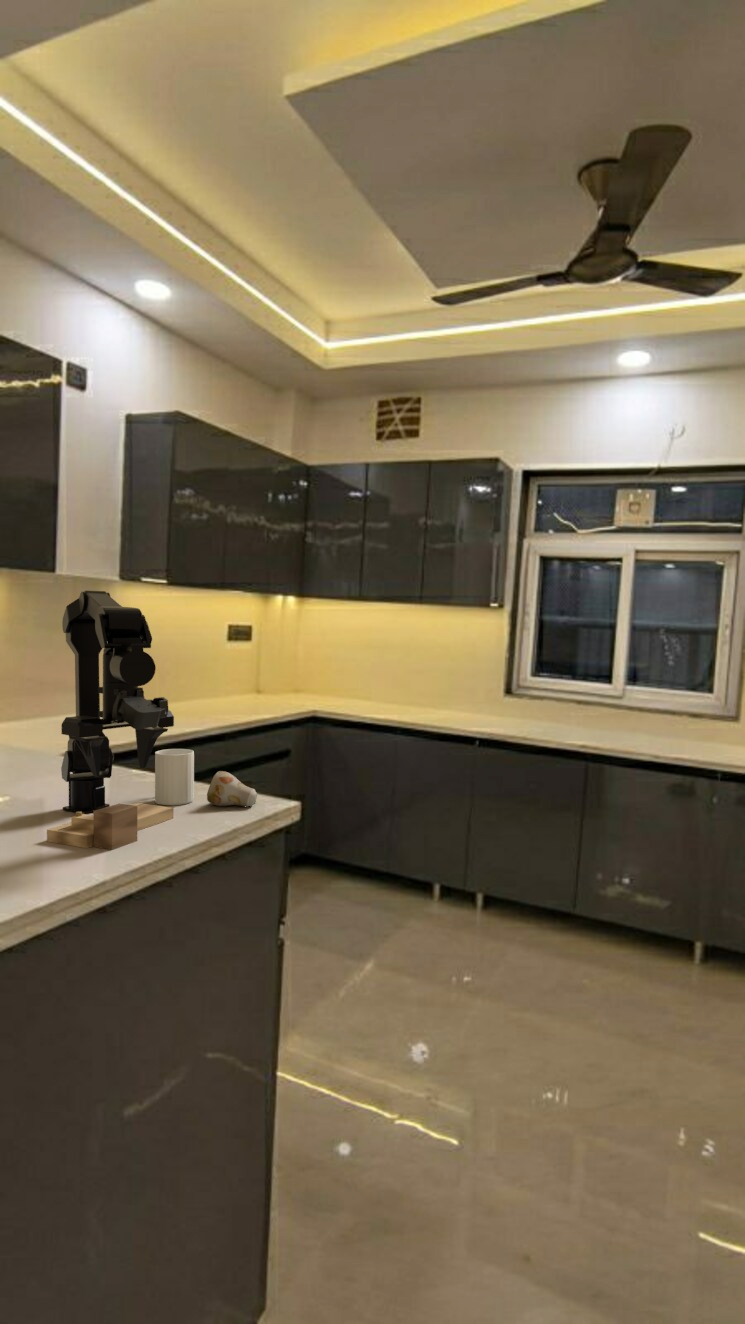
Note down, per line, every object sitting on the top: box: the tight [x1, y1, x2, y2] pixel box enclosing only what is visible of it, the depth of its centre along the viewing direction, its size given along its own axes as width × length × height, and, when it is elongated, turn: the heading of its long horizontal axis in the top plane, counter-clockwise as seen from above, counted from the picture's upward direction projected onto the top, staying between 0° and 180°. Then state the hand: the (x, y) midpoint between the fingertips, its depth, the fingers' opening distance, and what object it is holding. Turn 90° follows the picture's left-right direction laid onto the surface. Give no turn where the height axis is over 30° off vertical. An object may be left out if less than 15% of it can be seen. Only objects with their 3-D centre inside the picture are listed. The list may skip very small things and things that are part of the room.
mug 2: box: [154, 748, 195, 806], centre depth 159 cm, size 12×8×10 cm, turn 12°
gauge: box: [70, 803, 138, 851], centre depth 127 cm, size 11×6×6 cm, turn 66°
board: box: [46, 802, 174, 849], centre depth 135 cm, size 9×22×2 cm, turn 156°
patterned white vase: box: [206, 770, 258, 808], centre depth 154 cm, size 8×10×10 cm
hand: (120, 772), depth 128 cm, fingers open, 9 cm apart
